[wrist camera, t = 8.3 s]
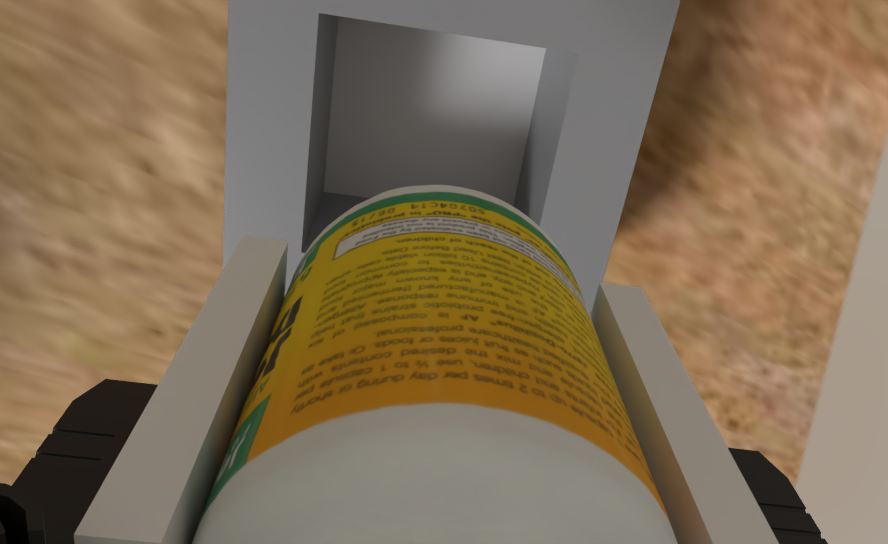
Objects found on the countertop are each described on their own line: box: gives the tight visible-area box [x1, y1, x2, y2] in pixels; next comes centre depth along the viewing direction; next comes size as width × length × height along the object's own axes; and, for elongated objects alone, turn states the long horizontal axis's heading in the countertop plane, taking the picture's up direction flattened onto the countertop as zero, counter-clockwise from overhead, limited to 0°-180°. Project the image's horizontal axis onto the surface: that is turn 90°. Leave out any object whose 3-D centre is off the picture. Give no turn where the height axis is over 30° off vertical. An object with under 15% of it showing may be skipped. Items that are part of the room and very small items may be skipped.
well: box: [223, 0, 681, 315], centre depth 25 cm, size 12×12×6 cm
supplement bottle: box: [192, 185, 678, 544], centre depth 10 cm, size 5×5×10 cm
